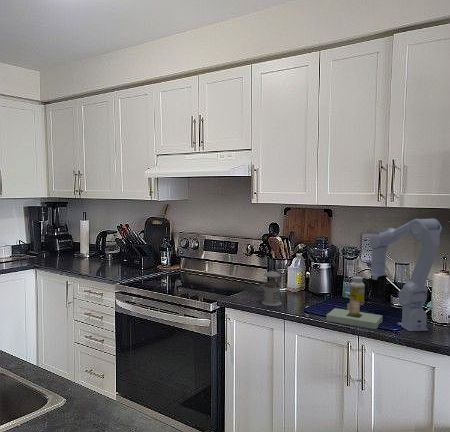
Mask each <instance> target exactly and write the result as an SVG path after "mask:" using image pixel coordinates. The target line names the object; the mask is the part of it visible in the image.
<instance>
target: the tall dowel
mask: <svg viewBox="0 0 450 432" xmlns="http://www.w3.org/2000/svg"><path fill="white" fill-rule="evenodd" d="M349 303H350V310H349V316H350V317H356V318H359V313H360V312H361V311H360V309H361V307H360V306H361V305H360V302H358V301H350V300H349Z"/></svg>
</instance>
